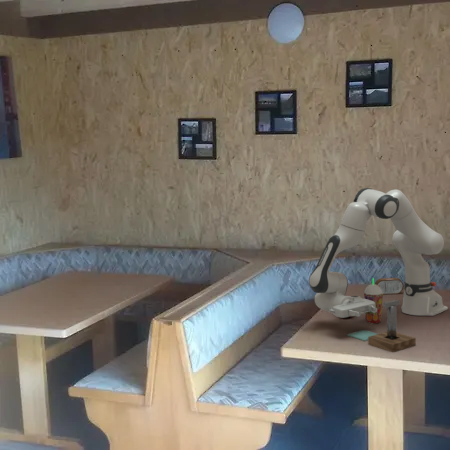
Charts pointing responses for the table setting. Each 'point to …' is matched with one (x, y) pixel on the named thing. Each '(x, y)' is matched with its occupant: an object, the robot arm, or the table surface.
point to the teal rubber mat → (362, 335)
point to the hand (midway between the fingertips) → (367, 312)
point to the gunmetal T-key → (391, 318)
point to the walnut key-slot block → (392, 341)
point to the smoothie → (376, 295)
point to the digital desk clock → (390, 285)
